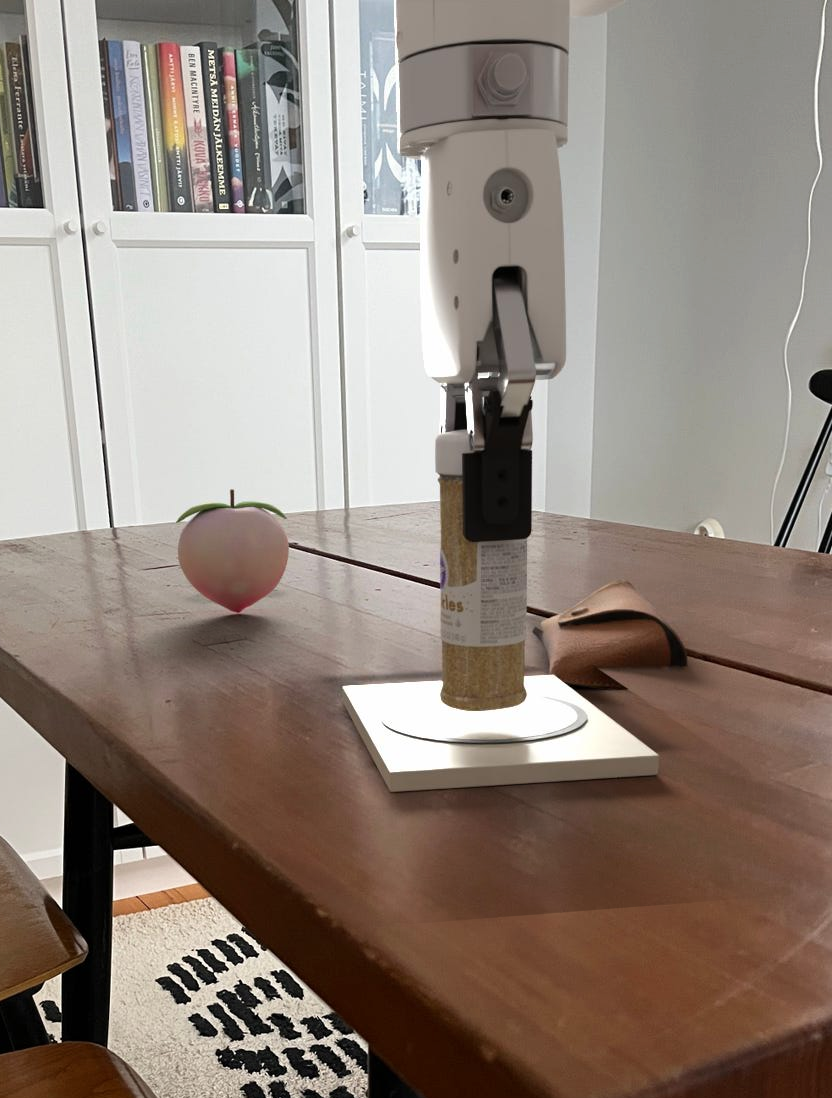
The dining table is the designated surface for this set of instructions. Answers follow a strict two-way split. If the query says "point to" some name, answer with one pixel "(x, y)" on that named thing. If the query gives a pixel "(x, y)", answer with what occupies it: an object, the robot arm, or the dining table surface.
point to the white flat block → (491, 738)
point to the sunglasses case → (608, 637)
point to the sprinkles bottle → (478, 600)
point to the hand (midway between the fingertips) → (484, 529)
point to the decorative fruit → (233, 551)
